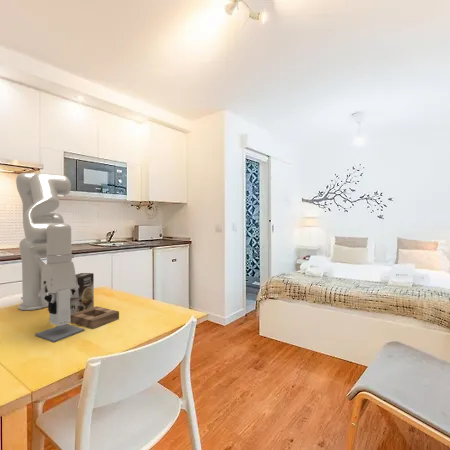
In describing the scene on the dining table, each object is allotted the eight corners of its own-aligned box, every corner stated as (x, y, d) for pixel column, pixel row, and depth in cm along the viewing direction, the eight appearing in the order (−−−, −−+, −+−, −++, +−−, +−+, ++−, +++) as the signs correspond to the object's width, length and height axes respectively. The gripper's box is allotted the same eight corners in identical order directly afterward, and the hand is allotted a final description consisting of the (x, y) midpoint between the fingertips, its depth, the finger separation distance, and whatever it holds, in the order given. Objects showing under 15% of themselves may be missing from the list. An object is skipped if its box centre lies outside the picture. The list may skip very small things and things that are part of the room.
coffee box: (80, 316, 118) (79, 277, 118) (66, 315, 120) (66, 276, 119) (94, 309, 127) (94, 272, 127) (81, 308, 128) (81, 272, 128)
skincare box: (71, 322, 101) (70, 288, 101) (59, 326, 97) (58, 291, 97) (61, 319, 104) (60, 286, 104) (49, 323, 100) (48, 289, 100)
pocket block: (69, 322, 111) (69, 314, 111) (96, 313, 122) (96, 306, 122) (92, 328, 105) (92, 320, 105) (119, 318, 115) (119, 311, 115)
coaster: (34, 335, 99) (34, 333, 99) (65, 325, 108) (65, 323, 108) (54, 342, 93) (54, 340, 93) (84, 330, 103) (84, 329, 103)
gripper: (75, 255, 109) (75, 303, 110) (27, 261, 95) (28, 316, 95) (88, 257, 106) (88, 306, 106) (40, 263, 91) (41, 320, 91)
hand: (59, 310), depth 101 cm, fingers closed on skincare box, 4 cm apart
